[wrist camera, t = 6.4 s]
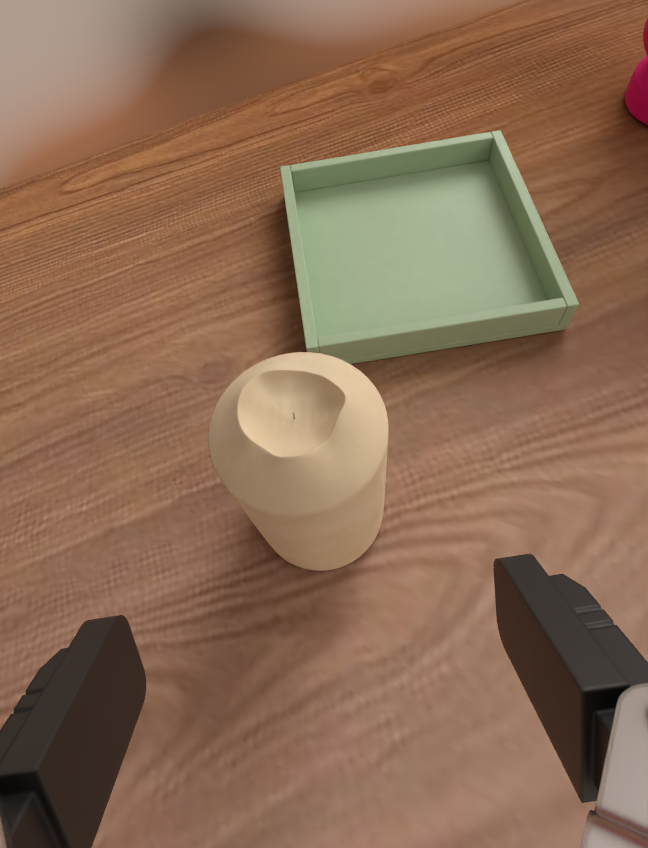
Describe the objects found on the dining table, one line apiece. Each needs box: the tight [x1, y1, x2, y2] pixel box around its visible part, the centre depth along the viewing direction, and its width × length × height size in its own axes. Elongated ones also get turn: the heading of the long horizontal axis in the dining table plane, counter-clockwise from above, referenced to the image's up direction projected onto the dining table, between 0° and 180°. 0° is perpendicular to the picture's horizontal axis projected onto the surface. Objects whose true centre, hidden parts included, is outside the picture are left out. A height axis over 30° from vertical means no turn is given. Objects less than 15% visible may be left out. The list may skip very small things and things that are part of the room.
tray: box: [280, 130, 579, 364], centre depth 29 cm, size 13×13×2 cm
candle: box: [208, 352, 388, 571], centre depth 19 cm, size 6×6×10 cm
